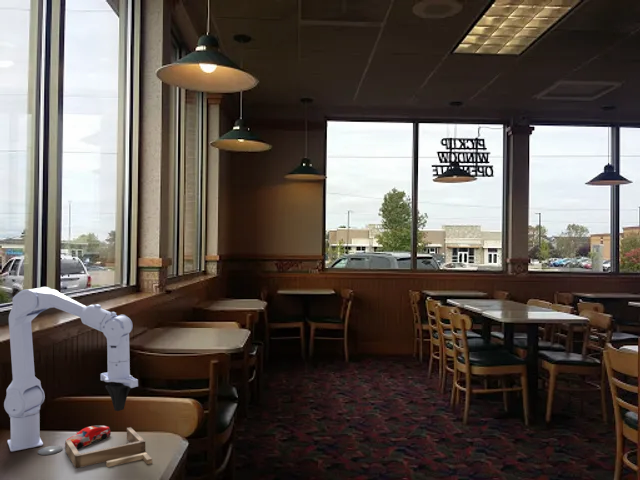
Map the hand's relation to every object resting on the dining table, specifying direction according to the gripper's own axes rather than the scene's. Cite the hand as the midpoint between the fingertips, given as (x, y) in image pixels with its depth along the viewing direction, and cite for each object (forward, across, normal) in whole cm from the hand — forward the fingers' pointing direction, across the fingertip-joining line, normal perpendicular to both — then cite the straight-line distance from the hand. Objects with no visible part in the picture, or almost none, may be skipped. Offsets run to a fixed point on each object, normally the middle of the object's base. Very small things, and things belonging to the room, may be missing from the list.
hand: (119, 409), depth 153 cm
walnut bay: (+10, 0, -4) cm, 11 cm away
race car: (+11, -12, -2) cm, 16 cm away
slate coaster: (+10, -14, -12) cm, 21 cm away
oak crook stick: (+10, +12, -5) cm, 17 cm away
